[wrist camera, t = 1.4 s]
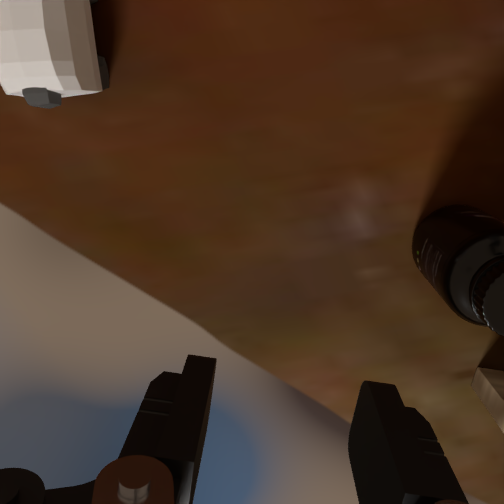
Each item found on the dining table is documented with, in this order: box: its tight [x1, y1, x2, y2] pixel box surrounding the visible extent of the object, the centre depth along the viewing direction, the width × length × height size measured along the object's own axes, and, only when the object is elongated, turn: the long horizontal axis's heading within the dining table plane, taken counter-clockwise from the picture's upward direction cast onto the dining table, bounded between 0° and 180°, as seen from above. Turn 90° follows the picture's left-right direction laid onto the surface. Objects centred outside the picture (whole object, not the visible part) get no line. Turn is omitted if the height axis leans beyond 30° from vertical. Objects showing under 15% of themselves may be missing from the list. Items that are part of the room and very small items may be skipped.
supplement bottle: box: [412, 205, 504, 336], centre depth 33 cm, size 7×7×12 cm
